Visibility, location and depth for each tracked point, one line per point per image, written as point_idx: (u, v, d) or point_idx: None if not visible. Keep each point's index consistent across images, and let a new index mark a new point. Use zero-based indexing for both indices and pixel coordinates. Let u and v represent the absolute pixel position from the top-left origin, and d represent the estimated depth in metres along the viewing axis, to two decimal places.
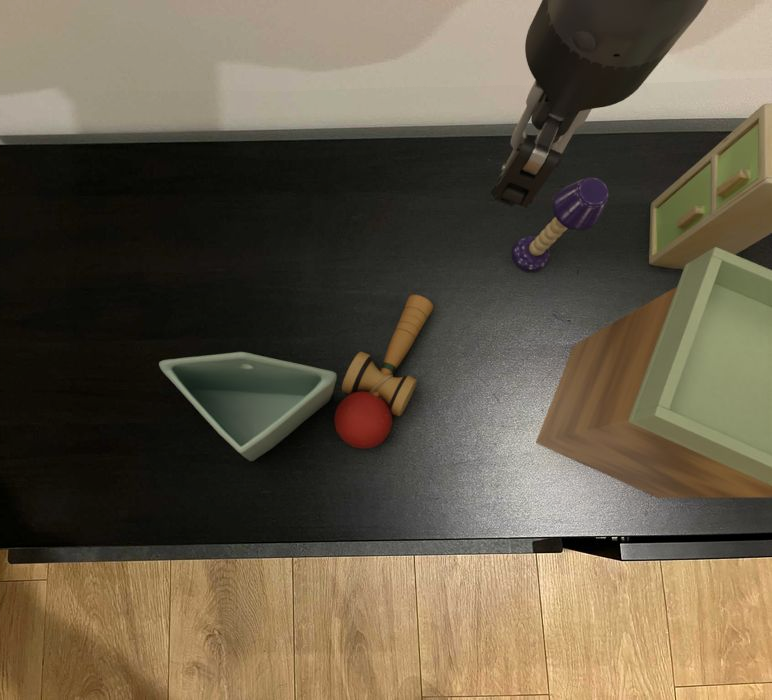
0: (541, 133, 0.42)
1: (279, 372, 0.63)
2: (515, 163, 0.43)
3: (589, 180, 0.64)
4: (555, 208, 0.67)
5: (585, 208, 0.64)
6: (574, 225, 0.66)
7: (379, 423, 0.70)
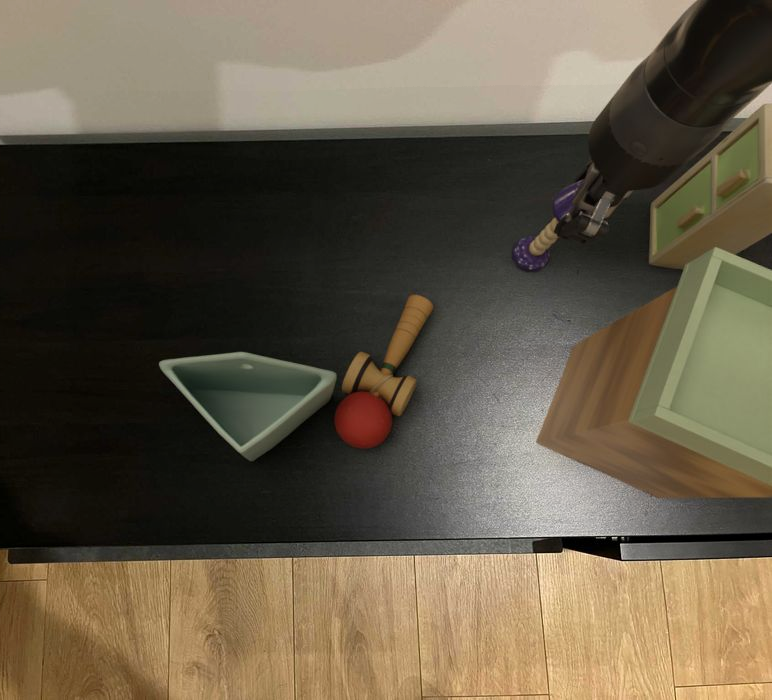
0: (595, 210, 0.57)
1: (279, 372, 0.63)
2: (575, 229, 0.58)
3: None
4: (554, 208, 0.67)
5: None
6: None
7: (379, 423, 0.70)
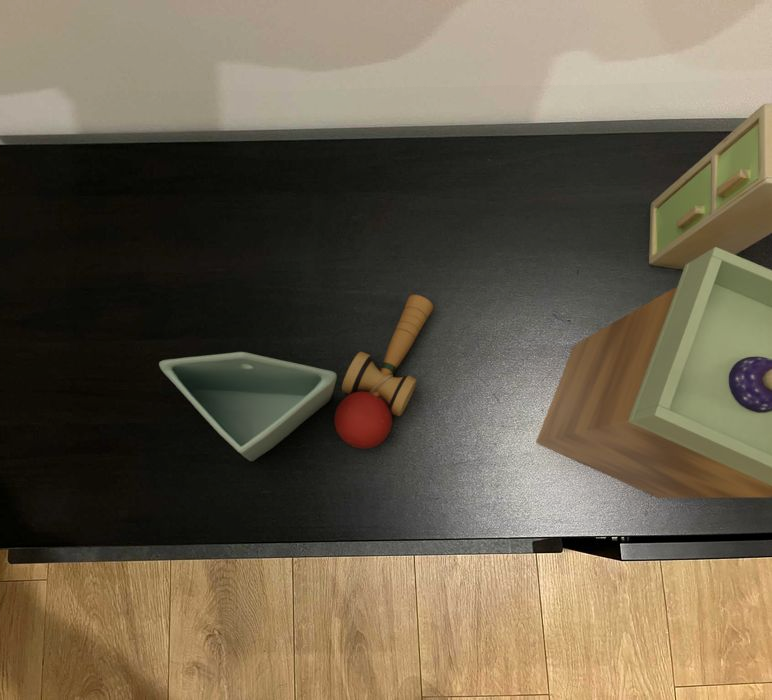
0: None
1: (279, 372, 0.63)
2: None
3: None
4: None
5: None
6: None
7: (379, 423, 0.70)
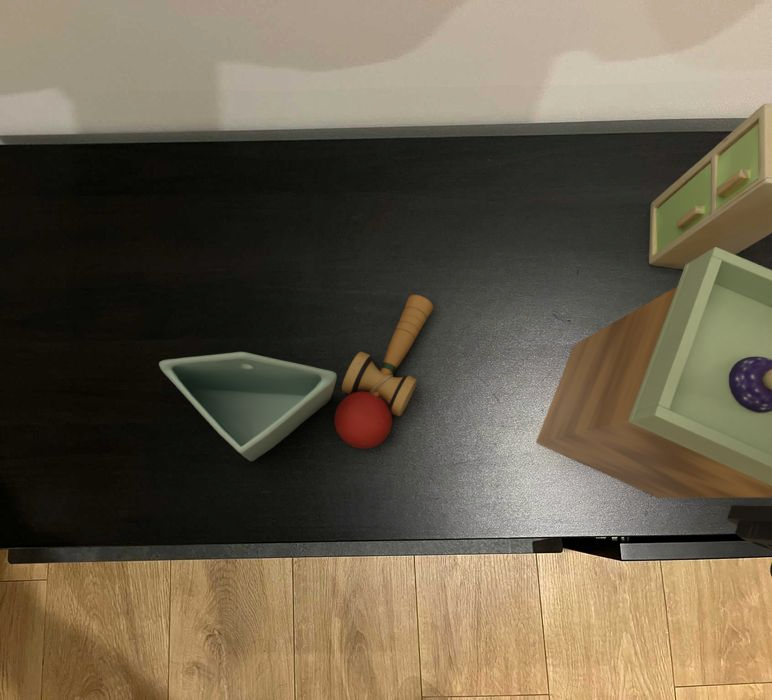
0: None
1: (279, 372, 0.63)
2: None
3: None
4: None
5: None
6: None
7: (379, 423, 0.70)
